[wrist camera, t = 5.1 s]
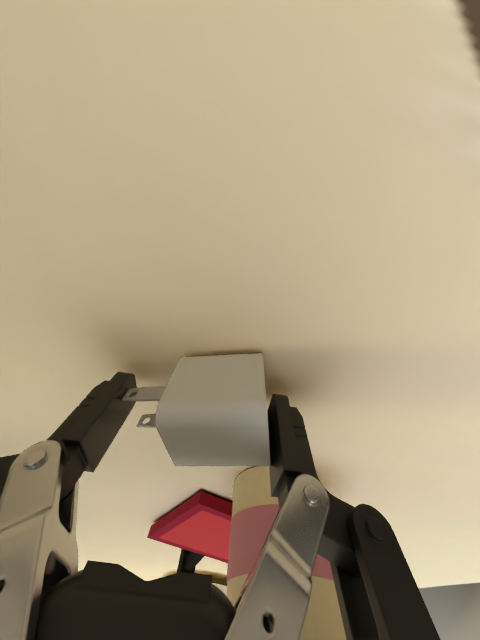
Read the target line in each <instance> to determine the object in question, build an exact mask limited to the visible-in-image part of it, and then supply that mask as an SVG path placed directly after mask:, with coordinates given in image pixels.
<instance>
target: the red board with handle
mask: <svg viewBox="0 0 480 640" xmlns="http://www.w3.org/2000/svg"><path fill="white" fill-rule="evenodd" d="M232 506H233V503H230V502H228V501H225V500H223V499H220V498H218V497H215V496H213V495H210V494H208V493H205V492H203V491H200V492H198V493H197V494H196V495H194V496H193V497H191V498H190V499H189V500H187V501H186V502H184V503H183V504H181V505H180V506H179V507H177V508H176V509H174V510H173V511H172V512H170V513H169V514H167V515H166V516H165V517H163V518H162V519H160V520H159V521H158V522H156V523H155V524H153V525H152V526H151V528H150V531H149V534H148V537H147V538H150V539H153V540H156V541H160V542H163V543H166V544H169V545H172V546H175V547H179V548H182V550H181V555H180V560H179V565H178V569H177V573H180V572H185V573H193V574H194V571H195V566H196V565H197V564H198V562H199V561H200V560H201V559H202V558H203V557H204V556H207V557H210V558H213V559H217V560H220V561H223V562H226V563H228V554H229V539H230V525H231V519H232Z"/></svg>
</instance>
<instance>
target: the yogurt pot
mask: <svg viewBox="0 0 480 640" xmlns="http://www.w3.org/2000/svg"><path fill="white" fill-rule="evenodd" d="M278 510H279V503H278V497H271V486H270V471H269V466H256V467H253V468H250V469H247V470H245V471H243V472H242V473H240V474H239V475H238V476H237V478H236V479H235V481H234V491H233V506H232V519H231V525H230V539H229V554H228V569H227V597H228V599H229V600H230V601H231V603H232V605H233V606H234V604H235V602H236V600H237V598H238V595H239V593H240V591H241V589H242V587H243V585H244V582H245V580H246V578H247V576H248V574H249V572H250V570H251V568H252V566H253V564H254V562H255V560H256V557H257V555H258V553H259V551H260V549H261V547H262V544H263V542H264V540H265V538H266V536H267V534H268V531H269V529H270V527H271V525H272V523H273V520H274V518H275V516H276V514H277V512H278ZM300 640H346V635H345V631H344V626H343V621H342V617H341V612H340V607H339V603H338V598H337V593H336V589H335V584H334V579H333V575H332V570H331V565H330V562H329V561H328V560H326V559H325V558H323V557H321V556H320V555H318V554H317V556H316V560H315V564H314V567H313V571H312V592H311V597H310V601H309V605H308V609H307V613H306V617H305V621H304V625H303V628H302V632H301V636H300Z"/></svg>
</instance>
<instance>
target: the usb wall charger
mask: <svg viewBox="0 0 480 640" xmlns="http://www.w3.org/2000/svg"><path fill="white" fill-rule="evenodd" d="M133 392H138V393H137V394H136V395H135V396H133V397H129V395H130V394H131V393H133ZM122 400H123V401H159V403H158V406H157V409H156V414H146V415H142V416H141V418H140V420H139V422H138V424H137V427H147V428H157V430H158V432H159V434H160V436H161V438H162V441H163V443H164V445H165V447H166V449H167V451H168V453H169V455H170V457H171V459H172V461H173V463H174V465H175V466H270V448H269V430H268V414H267V400H266V387H265V374H264V361H263V353H255V354H234V355H214V356H193V357H181V358H180V359H179V361H178V363H177V365H176V368H175V370H174V372H173V374H172V376H171V378H170V380H169V382H168V384H167V386H164V387H142V388H131V389H129V390H128V391H127V393H126V394H125V396H124V397H123V398H122ZM146 418H151V419H150V421H149V422H148V423H146V424H142V422H143V421H144V419H146Z"/></svg>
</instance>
